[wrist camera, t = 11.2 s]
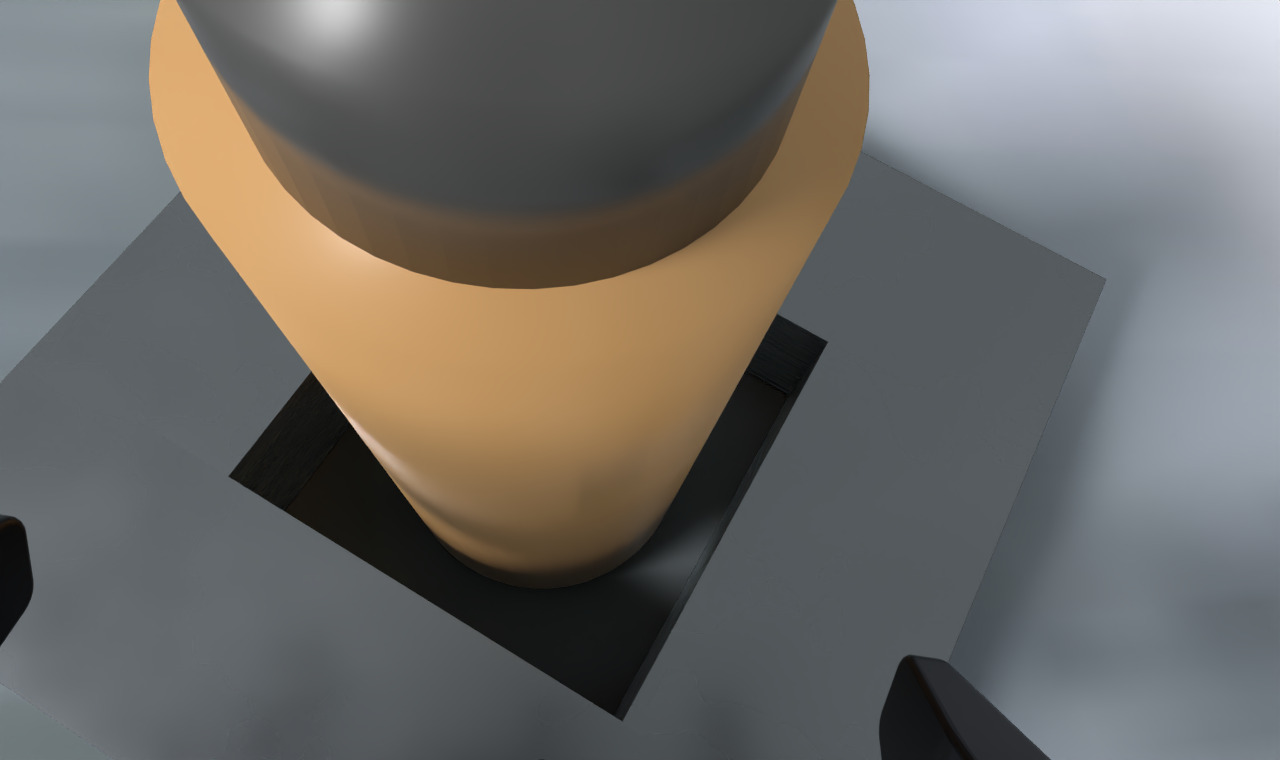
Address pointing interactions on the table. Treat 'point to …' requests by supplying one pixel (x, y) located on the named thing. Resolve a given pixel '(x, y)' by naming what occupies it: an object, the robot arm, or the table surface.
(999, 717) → the robot arm
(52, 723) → the table surface
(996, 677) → the table surface
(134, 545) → the grey square frame
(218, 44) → the plug
